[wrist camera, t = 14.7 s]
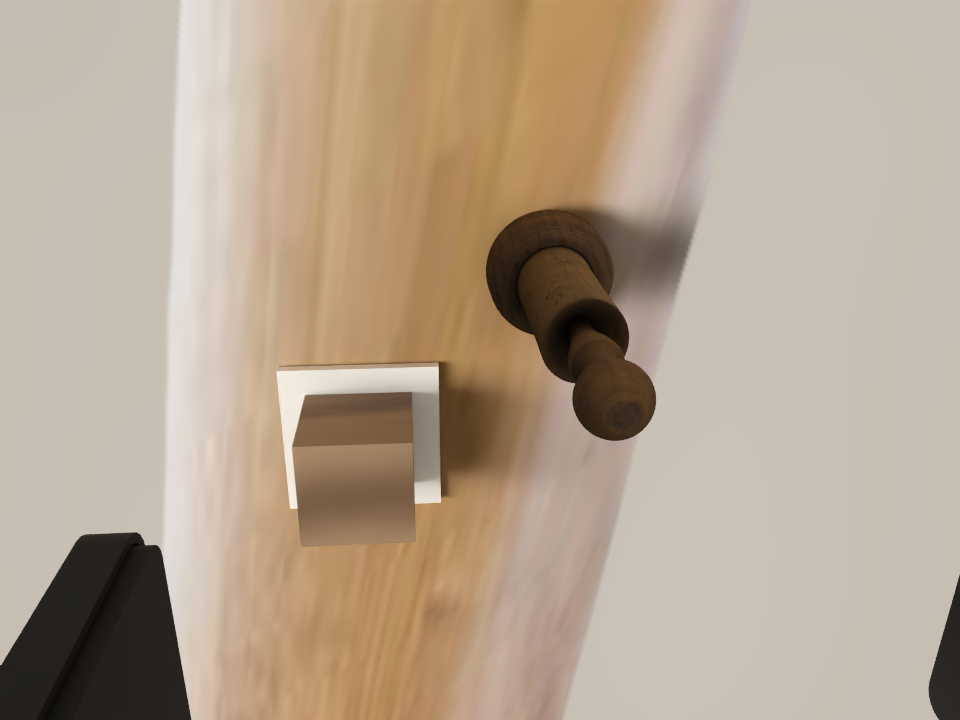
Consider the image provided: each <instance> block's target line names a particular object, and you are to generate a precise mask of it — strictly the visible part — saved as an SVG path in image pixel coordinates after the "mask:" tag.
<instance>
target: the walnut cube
mask: <svg viewBox="0 0 960 720" xmlns="http://www.w3.org/2000/svg"><path fill="white" fill-rule="evenodd" d="M292 454H293V465H294V476H295V486H296V497H297V508H298V518H299V529H300V540H301V547H314V546H337V545H361V544H384V543H407V542H415V490H414V452H413V417H412V392H391V393H356V394H322V395H305V397H304V401H303V405H302V409H301V413H300V417H299V421H298V425H297V429H296V433H295V437H294V440H293V444H292Z"/></svg>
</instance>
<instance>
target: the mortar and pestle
mask: <svg viewBox="0 0 960 720" xmlns="http://www.w3.org/2000/svg"><path fill="white" fill-rule="evenodd" d="M486 277H487V283H488V287H489V290H490V293H491V296H492V299H493V301H494V303H495V305H496V307H497V309H498V310H499V312H500V313H501V315H502V316H503V317H504V318H505V319H506V320H507V321H508V322H509V323H510V324H512V325H513V326H514V327H516V328H518V329H519V330H521V331H524V332H526V333H529V334H533V335H534V336H535V339H536V341H537V344H538V347H539V350H540V353H541V355H542V358H543V360H544V363H545V364H546V366H547V367H548V369H549V370H550V371H551V372H552V373H553V374H554V375H555V376H557V377H558V378H560V379H562V380H564V381H567V382H570V383H576V384H575V386H574V390H573V407H574V411H575V414H576V416H577V418H578V420H579V421H580V423H581V424H582V425H583V426H584V428H585V429H587V430H588V431H589V432H590V433H592V434H593V435H595V436H597V437H599V438H602V439H606V440H611V441H619V440H625V439H628V438H631V437H633V436H635V435H637V434H638V433H640V432H641V431H642V430H643V429H644V428H645V427H646V426H647V425H648V423H649V422H650V420H651V418H652V416H653V414H654V410H655V406H656V393H655V389H654V386H653V383H652V381H651V379H650V378H649V376H648V375H647V374H646V373H645V372H644V371H643V370H642V369H641V368H640V367H639V366H637V365H636V364H634V363H632V362H629V361H627V360H625V359H624V356H625V354H626V352H627V348H628V344H629V330H628V326H627V323H626V320H625V318H624V317H623V315H622V314H621V312H620V311H619V309H618V308H617V307H616V305H615V304H614V303H613V301H612V300H611V299H610V297H609V294H610V291H611V288H612V283H613V264H612V260H611V256H610V254H609V251H608V249H607V247H606V245H605V244H604V242H603V241H602V239H601V238H600V237H599V235H598V234H597V232H596V231H595V230H594V229H593V228H592V227H591V226H590V225H589V224H588V223H587V222H585V221H584V220H582V219H581V218H579V217H577V216H575V215H572V214H569V213H566V212H562V211H553V210H545V211H537V212H532V213H529V214H526V215H524V216H521V217H519V218H518V219H516V220H514V221H513V222H511V223H510V224H509V225H508V226H506V227H505V228H504V229H503V230H502V232H501V233H500V234H499V235H498V236H497V238H496V239H495V241H494V243H493V245H492V247H491V249H490V252H489V255H488V259H487V265H486Z"/></svg>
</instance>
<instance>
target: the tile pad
mask: <svg viewBox="0 0 960 720" xmlns="http://www.w3.org/2000/svg"><path fill="white" fill-rule="evenodd" d="M276 372H277V382H278V391H279V401H280V411H281V421H282V431H283V441H284V451H285V461H286V471H287V481H288V491H289V501H290V509H296V508H297V497H296V486H295V476H294V465H293V454H292V444H293V440H294V437H295V433H296V429H297V425H298V421H299V417H300V413H301V409H302V405H303V401H304V397H305V395H322V394H356V393H391V392H412V417H413V452H414V490H415V504H418V503H441V483H440V422H439V366H438V362H435V363H400V364H365V365H329V366H294V367H278V368H277V371H276Z"/></svg>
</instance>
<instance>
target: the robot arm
mask: <svg viewBox="0 0 960 720" xmlns="http://www.w3.org/2000/svg"><path fill="white" fill-rule="evenodd" d="M929 697H930V702H931V705H932V708H933V710H934V712H935V714H936V716H937V717H938V719H939V720H960V576H959V579H958V583H957V586H956V590H955V594H954V597H953V601H952V604H951V608H950V611H949V615H948V618H947V622H946V625H945V629H944V632H943V636H942V639H941V643H940V646H939V650H938V654H937V657H936V661H935V664H934V668H933V671H932V675H931V679H930V683H929ZM0 720H191V716H190V710H189V704H188V699H187V693H186V687H185V682H184V676H183V670H182V665H181V659H180V653H179V648H178V642H177V636H176V631H175V625H174V619H173V614H172V608H171V602H170V597H169V591H168V585H167V580H166V574H165V568H164V563H163V557H162V553H161V550H160V548H159V547H158V546H157V545H146V546H145V544H144V540H143V539H142V537H141V535H140V534H138V533H111V534H87V535H83V536H81V537H80V538H79V539H78V540H77V541H76V543H75V545H74V546H73V548H72V550H71V551H70V553H69V555H68V556H67V558H66V559H65V561H64V563H63V564H62V566H61V568H60V569H59V571H58V573H57V574H56V576H55V578H54V579H53V581H52V583H51V584H50V586H49V587H48V589H47V591H46V592H45V594H44V596H43V597H42V599H41V601H40V602H39V604H38V606H37V607H36V609H35V611H34V612H33V614H32V616H31V617H30V619H29V621H28V622H27V624H26V625H25V627H24V629H23V630H22V632H21V634H20V635H19V637H18V639H17V640H16V642H15V644H14V645H13V647H12V648H11V650H10V652H9V653H8V655H7V657H6V658H5V660H4V662H3V663H2V665H0Z"/></svg>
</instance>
